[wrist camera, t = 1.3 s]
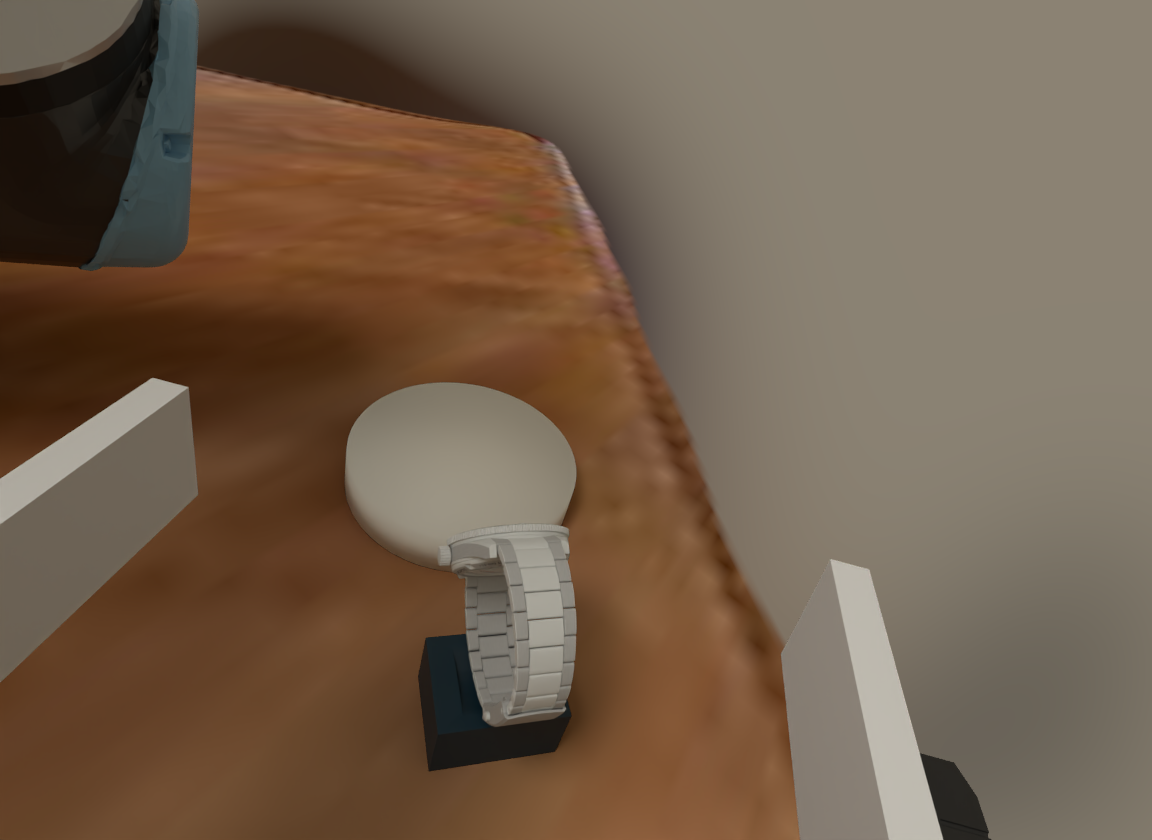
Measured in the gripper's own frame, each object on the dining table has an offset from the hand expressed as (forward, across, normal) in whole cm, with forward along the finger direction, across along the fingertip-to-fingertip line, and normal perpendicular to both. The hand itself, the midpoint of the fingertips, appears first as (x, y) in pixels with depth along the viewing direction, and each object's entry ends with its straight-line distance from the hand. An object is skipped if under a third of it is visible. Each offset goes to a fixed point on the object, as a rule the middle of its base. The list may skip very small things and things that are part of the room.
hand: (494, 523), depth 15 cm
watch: (+10, 0, -19) cm, 21 cm away
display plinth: (+22, -6, -17) cm, 29 cm away
